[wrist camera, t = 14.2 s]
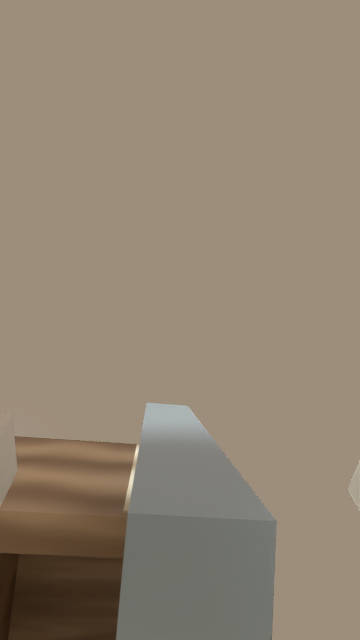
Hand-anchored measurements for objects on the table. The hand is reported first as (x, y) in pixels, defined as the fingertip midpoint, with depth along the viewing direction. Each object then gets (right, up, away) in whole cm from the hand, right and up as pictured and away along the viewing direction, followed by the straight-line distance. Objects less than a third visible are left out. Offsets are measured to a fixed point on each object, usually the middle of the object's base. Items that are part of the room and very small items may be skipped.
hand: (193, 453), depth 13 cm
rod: (-1, -6, +8) cm, 10 cm away
